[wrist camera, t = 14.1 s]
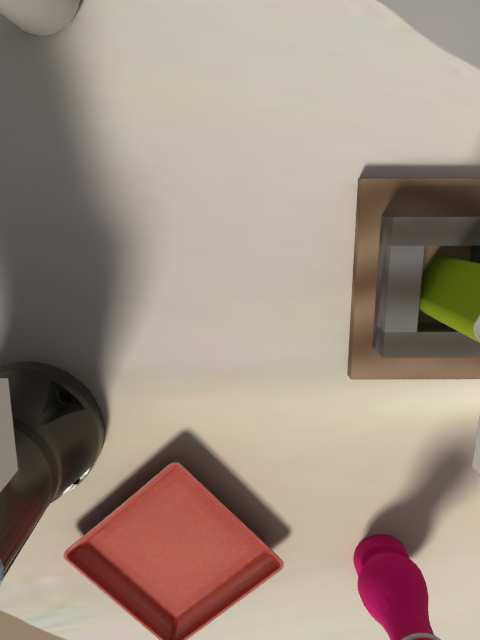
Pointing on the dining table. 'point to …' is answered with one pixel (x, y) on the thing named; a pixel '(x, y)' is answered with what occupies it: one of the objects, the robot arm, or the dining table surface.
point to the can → (39, 14)
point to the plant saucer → (173, 555)
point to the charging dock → (366, 266)
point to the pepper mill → (393, 588)
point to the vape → (452, 294)
